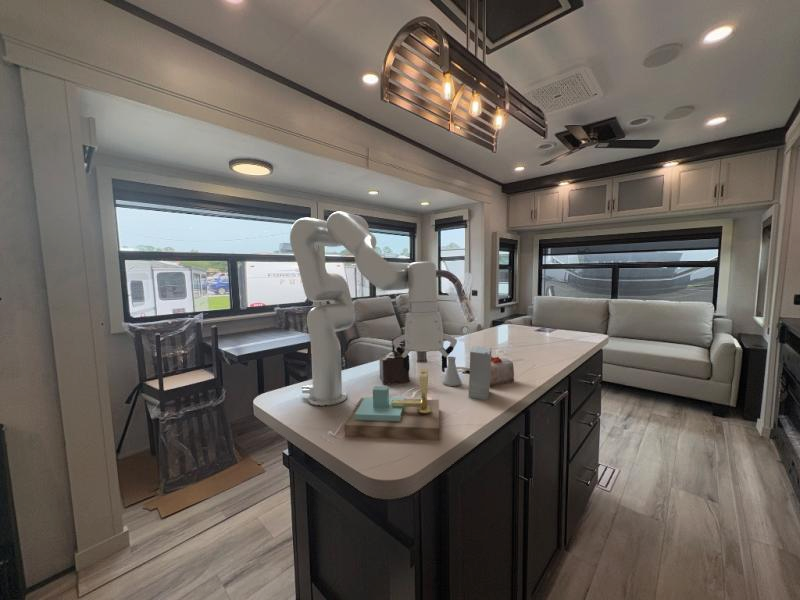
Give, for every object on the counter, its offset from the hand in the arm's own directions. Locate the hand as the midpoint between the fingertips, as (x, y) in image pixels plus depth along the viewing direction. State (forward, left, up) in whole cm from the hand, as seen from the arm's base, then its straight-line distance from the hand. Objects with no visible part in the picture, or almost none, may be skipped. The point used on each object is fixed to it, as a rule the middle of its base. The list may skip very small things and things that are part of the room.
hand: (425, 370), depth 85 cm
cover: (-12, 0, -12) cm, 17 cm away
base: (-8, 0, -15) cm, 17 cm away
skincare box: (+17, +22, -15) cm, 32 cm away
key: (-4, 0, -11) cm, 12 cm away
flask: (+8, +33, -15) cm, 37 cm away
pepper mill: (-11, +37, -15) cm, 42 cm away
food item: (+25, +35, -15) cm, 45 cm away
